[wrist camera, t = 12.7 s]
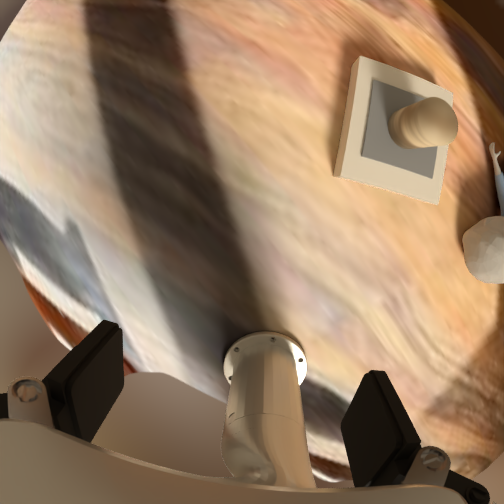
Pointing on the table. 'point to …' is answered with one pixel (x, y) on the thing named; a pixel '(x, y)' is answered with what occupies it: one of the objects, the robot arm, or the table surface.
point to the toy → (487, 239)
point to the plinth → (387, 133)
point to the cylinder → (423, 124)
